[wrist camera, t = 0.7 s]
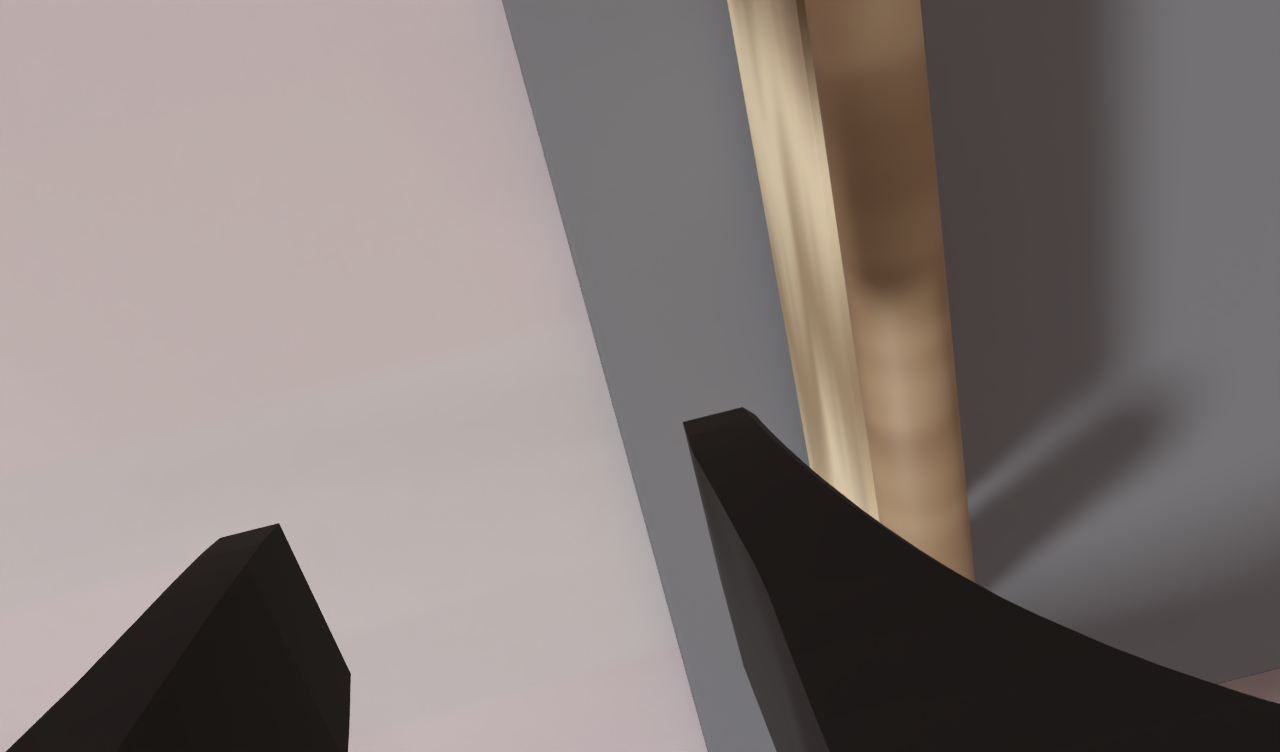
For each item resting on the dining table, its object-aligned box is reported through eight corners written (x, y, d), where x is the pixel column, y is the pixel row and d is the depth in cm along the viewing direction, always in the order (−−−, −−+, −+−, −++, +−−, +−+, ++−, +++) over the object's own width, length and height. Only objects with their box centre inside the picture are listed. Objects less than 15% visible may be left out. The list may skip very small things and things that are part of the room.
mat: (1684, 550, 26) (1704, 562, 26) (718, 789, 26) (722, 806, 26) (2042, -630, 16) (2086, -643, 15) (443, -220, 16) (441, -221, 15)
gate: (903, 584, 23) (1027, 824, 17) (820, 605, 23) (917, 852, 17) (788, -260, 15) (941, -302, 10) (664, -229, 15) (750, -254, 10)
